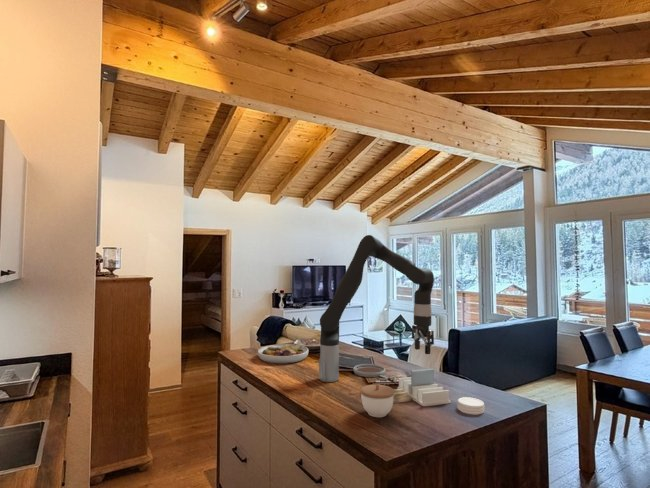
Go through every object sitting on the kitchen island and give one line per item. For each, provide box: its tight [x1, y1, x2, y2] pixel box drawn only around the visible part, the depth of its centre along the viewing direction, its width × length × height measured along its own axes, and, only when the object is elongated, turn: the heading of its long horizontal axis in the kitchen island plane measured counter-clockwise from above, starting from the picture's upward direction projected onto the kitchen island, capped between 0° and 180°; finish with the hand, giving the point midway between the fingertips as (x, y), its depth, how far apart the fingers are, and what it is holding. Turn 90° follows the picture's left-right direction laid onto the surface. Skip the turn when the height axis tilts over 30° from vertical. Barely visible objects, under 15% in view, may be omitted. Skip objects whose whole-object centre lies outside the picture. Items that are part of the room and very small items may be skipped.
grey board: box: [410, 368, 435, 394], centre depth 168 cm, size 10×2×10 cm, turn 107°
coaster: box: [456, 396, 485, 416], centre depth 153 cm, size 10×10×4 cm
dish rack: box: [397, 376, 452, 407], centre depth 168 cm, size 13×22×5 cm, turn 17°
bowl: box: [257, 343, 309, 365], centre depth 231 cm, size 30×30×8 cm
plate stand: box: [393, 388, 412, 404], centre depth 164 cm, size 12×8×3 cm, turn 107°
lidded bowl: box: [360, 383, 395, 418], centre depth 149 cm, size 13×13×11 cm
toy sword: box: [352, 363, 397, 383], centre depth 197 cm, size 17×3×28 cm
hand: (422, 351), depth 168 cm, fingers open, 8 cm apart
